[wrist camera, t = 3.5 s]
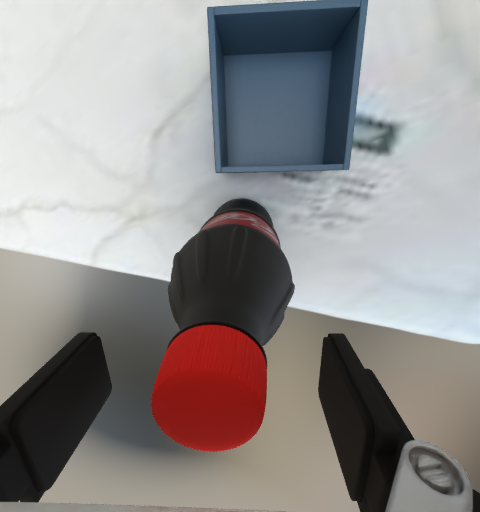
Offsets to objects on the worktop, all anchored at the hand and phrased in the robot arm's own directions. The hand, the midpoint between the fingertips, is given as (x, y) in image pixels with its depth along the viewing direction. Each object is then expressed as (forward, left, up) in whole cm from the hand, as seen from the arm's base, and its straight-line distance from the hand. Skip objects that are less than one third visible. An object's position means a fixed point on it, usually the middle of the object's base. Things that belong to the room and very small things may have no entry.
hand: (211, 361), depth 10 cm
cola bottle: (0, 0, -28) cm, 28 cm away
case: (-5, -14, -27) cm, 31 cm away
